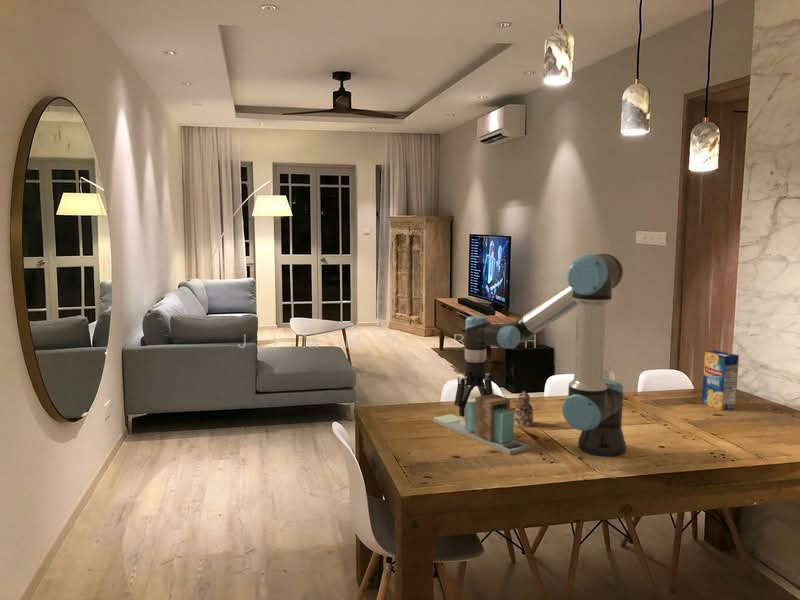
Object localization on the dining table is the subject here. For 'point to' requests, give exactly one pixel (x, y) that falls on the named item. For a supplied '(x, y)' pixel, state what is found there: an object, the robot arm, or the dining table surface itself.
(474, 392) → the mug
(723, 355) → the blue cardboard box
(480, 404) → the tunnel
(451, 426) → the track board
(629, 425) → the dining table surface
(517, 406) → the figurine
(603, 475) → the dining table surface
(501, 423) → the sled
